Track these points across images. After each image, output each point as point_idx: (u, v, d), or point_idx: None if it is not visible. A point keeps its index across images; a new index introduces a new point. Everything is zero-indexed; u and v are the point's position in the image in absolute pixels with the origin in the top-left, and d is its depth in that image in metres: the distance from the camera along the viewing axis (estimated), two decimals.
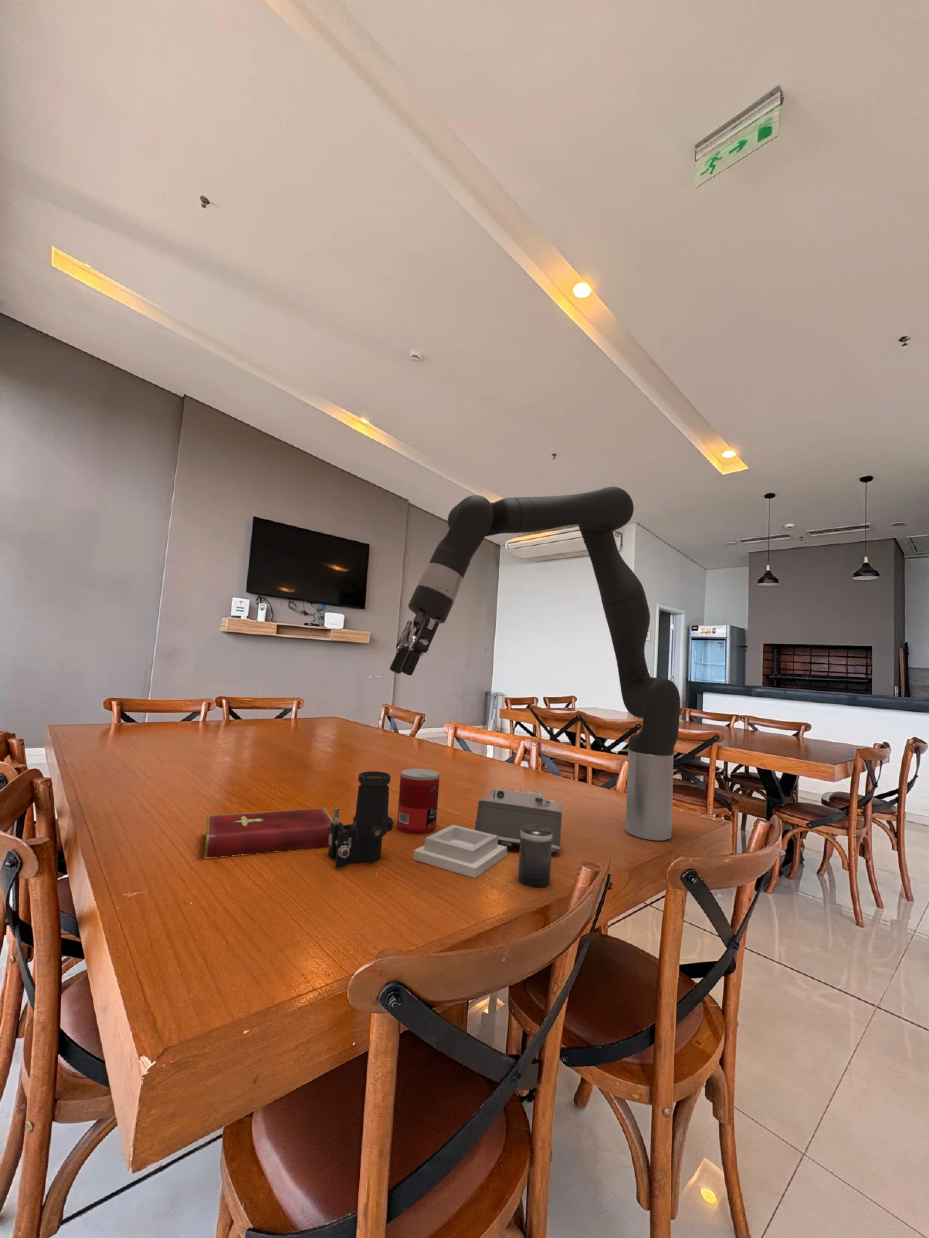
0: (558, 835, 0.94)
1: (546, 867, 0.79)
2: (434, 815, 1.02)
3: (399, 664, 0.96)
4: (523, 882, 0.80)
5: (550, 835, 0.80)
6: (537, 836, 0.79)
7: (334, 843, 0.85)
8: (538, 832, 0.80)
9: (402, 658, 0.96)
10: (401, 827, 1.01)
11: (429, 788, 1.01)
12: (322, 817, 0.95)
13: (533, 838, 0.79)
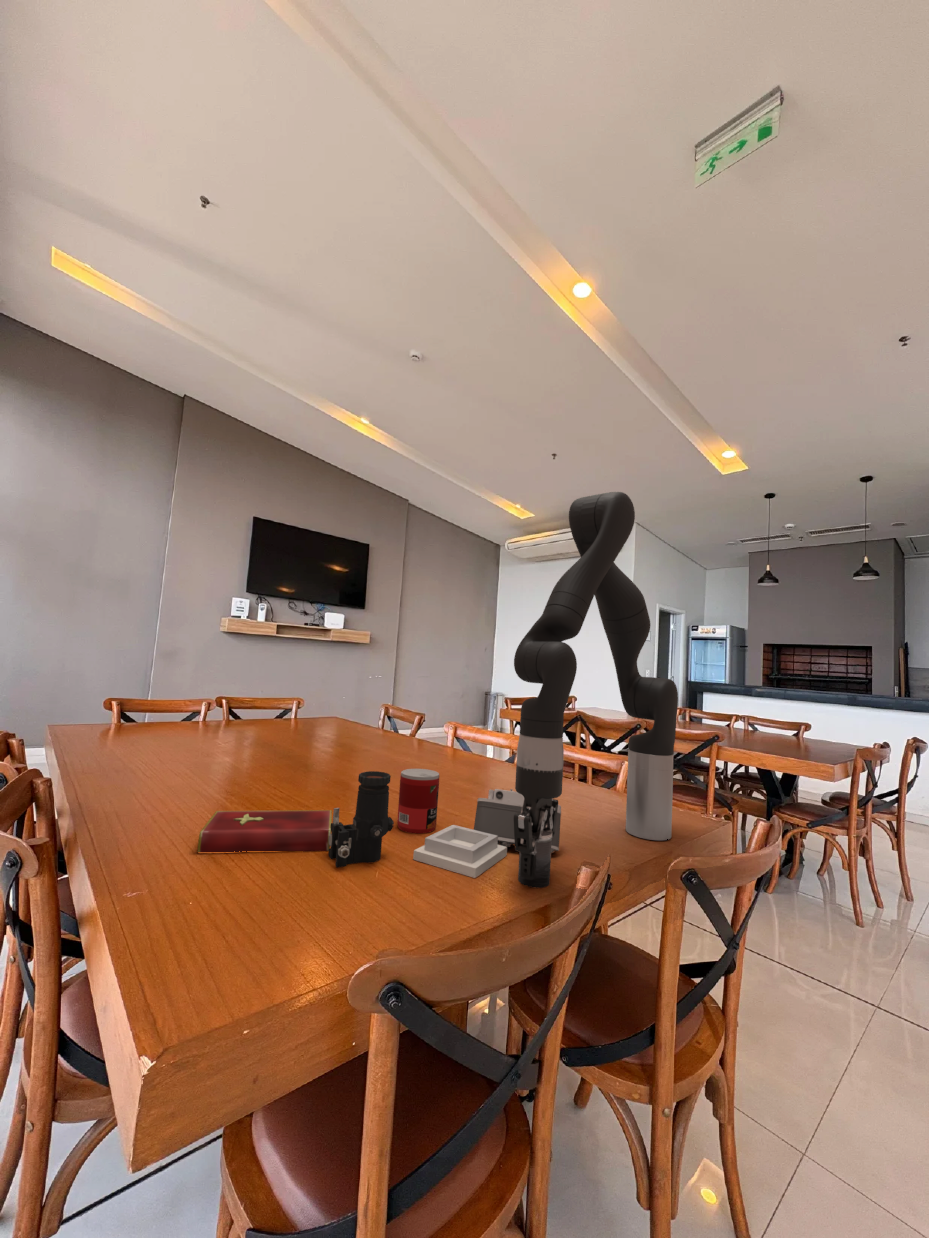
0: (557, 836, 0.93)
1: (546, 867, 0.79)
2: (434, 815, 1.02)
3: None
4: (523, 882, 0.80)
5: (550, 835, 0.80)
6: None
7: (334, 843, 0.85)
8: None
9: None
10: (401, 827, 1.01)
11: (429, 788, 1.01)
12: (322, 820, 0.94)
13: None
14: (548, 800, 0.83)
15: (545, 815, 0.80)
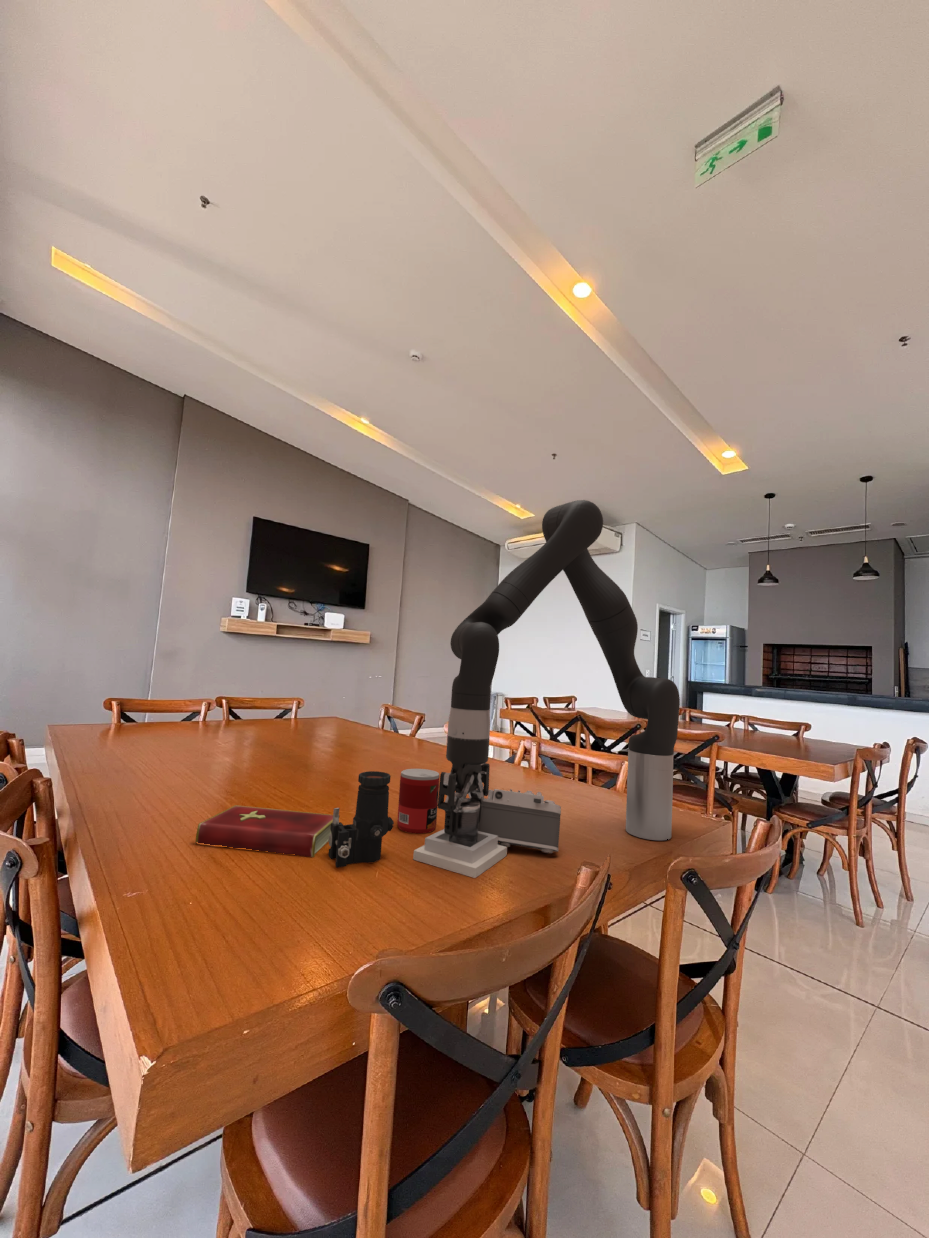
0: (556, 836, 0.93)
1: (472, 835, 0.87)
2: (434, 815, 1.02)
3: None
4: None
5: (477, 806, 0.88)
6: (464, 807, 0.87)
7: (334, 843, 0.85)
8: (466, 803, 0.88)
9: None
10: (401, 827, 1.01)
11: (429, 788, 1.01)
12: (319, 824, 0.91)
13: (461, 808, 0.87)
14: (477, 767, 0.91)
15: (471, 779, 0.88)
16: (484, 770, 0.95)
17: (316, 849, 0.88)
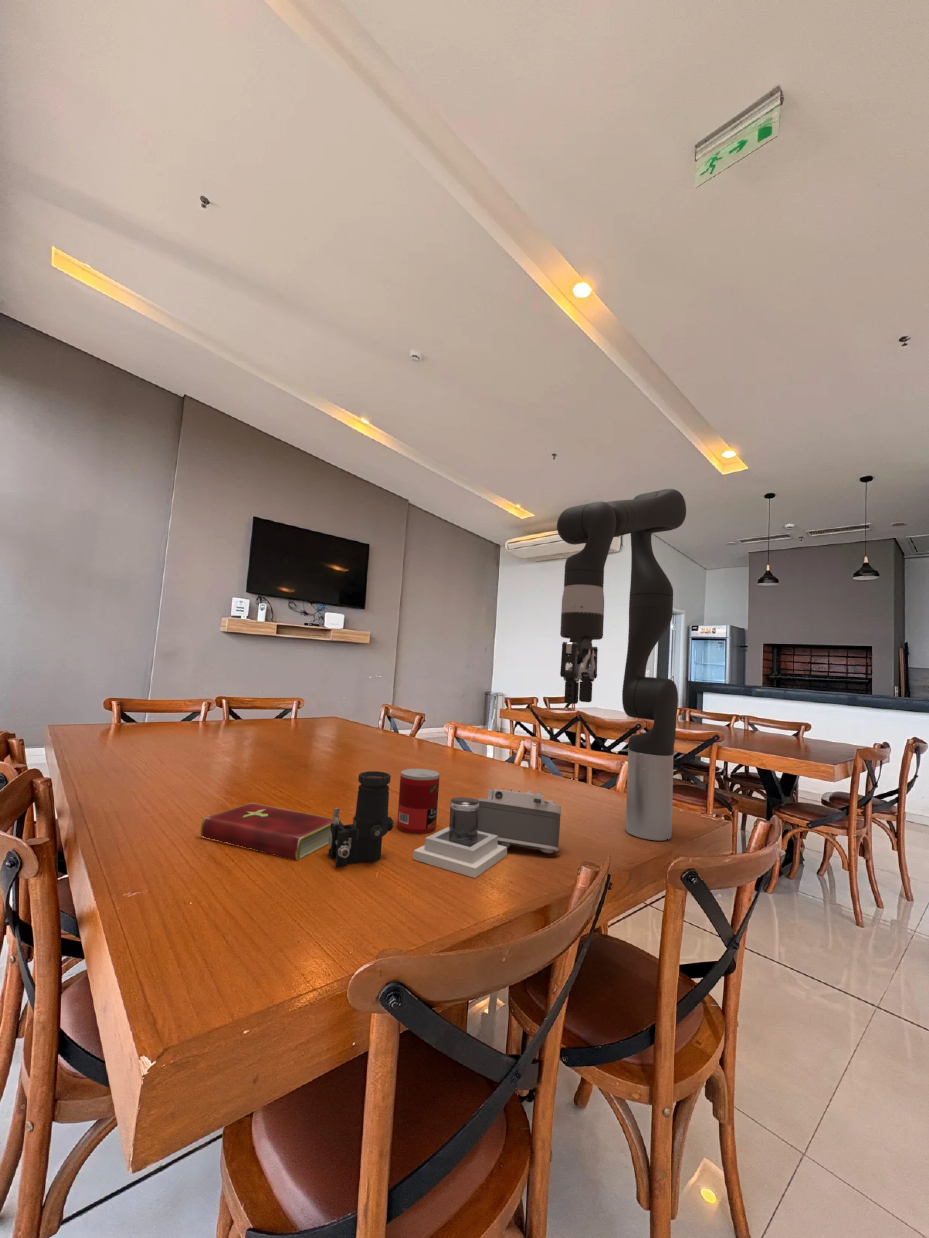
0: (556, 836, 0.93)
1: (473, 834, 0.88)
2: (434, 815, 1.02)
3: (586, 693, 0.94)
4: None
5: (477, 805, 0.89)
6: (465, 805, 0.88)
7: (334, 843, 0.85)
8: (466, 802, 0.89)
9: (586, 686, 0.94)
10: (401, 827, 1.01)
11: (429, 788, 1.01)
12: (313, 827, 0.89)
13: (461, 807, 0.88)
14: (590, 646, 0.93)
15: (588, 653, 0.89)
16: (593, 653, 0.96)
17: (305, 853, 0.86)
